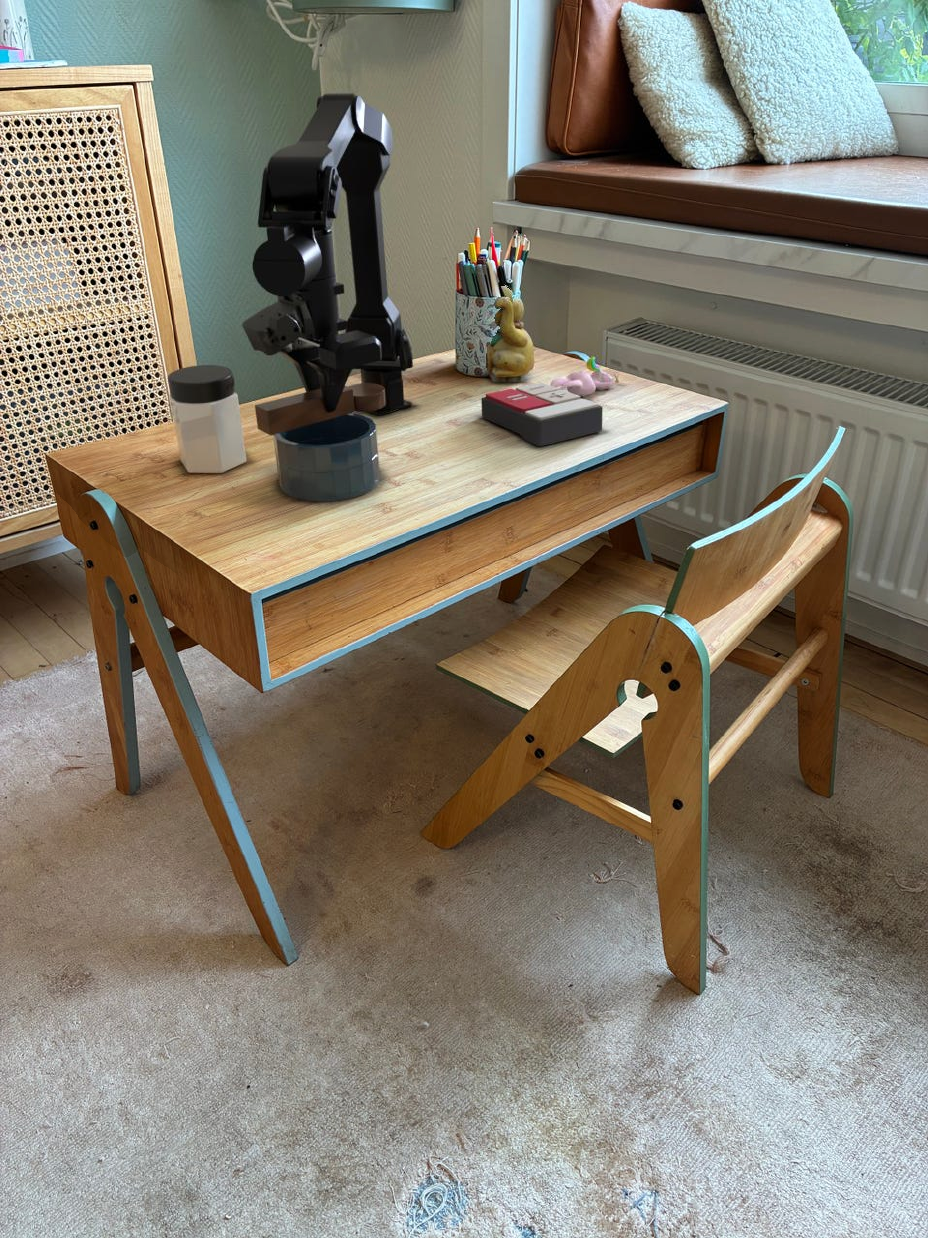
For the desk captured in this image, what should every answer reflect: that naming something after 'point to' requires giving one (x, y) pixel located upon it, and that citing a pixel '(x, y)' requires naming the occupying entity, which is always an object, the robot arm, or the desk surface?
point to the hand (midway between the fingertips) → (323, 408)
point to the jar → (207, 418)
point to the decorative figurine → (509, 342)
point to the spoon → (316, 407)
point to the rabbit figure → (586, 380)
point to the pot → (328, 459)
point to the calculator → (542, 413)
